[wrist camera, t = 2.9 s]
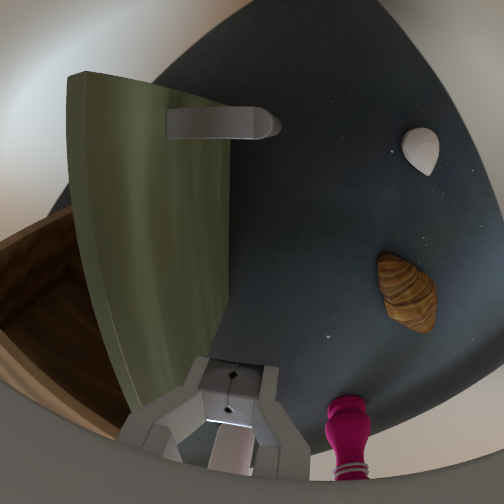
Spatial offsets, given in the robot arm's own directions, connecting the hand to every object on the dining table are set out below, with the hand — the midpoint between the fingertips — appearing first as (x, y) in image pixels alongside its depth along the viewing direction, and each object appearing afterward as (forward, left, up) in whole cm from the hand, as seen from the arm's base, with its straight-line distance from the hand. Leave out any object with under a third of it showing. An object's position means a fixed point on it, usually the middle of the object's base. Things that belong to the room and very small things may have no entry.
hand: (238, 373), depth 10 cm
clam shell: (+7, +15, -22) cm, 28 cm away
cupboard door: (-2, -2, -22) cm, 22 cm away
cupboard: (-9, -21, -22) cm, 32 cm away
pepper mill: (+29, -17, -22) cm, 40 cm away
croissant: (+18, +3, -22) cm, 29 cm away
